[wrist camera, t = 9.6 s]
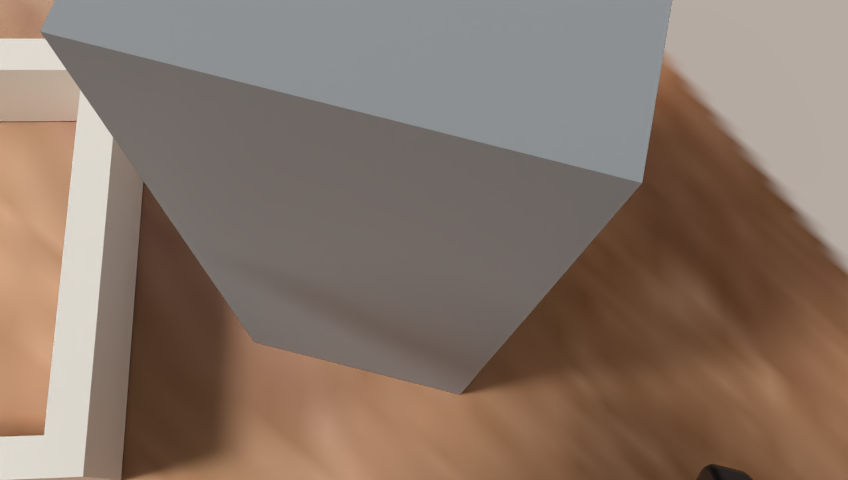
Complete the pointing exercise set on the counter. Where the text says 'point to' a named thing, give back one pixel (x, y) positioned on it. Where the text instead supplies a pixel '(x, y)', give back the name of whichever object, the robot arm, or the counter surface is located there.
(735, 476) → the robot arm
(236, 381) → the counter surface
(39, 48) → the tray
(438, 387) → the slate block
